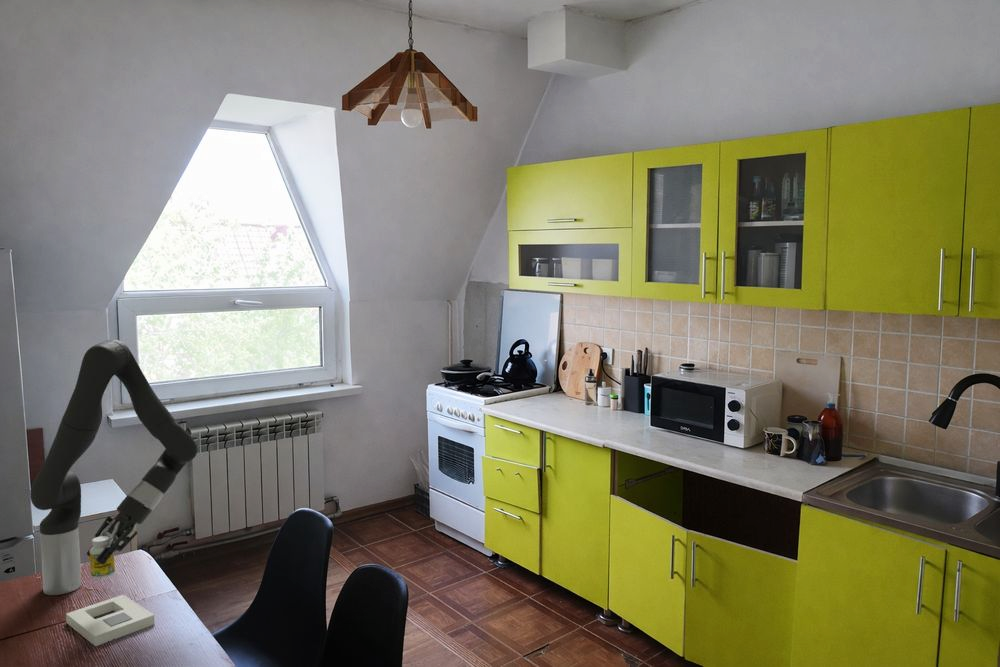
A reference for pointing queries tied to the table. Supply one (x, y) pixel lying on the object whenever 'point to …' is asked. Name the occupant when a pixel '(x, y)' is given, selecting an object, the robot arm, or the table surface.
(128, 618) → the socket dock
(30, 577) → the table surface
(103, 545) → the supplement bottle
